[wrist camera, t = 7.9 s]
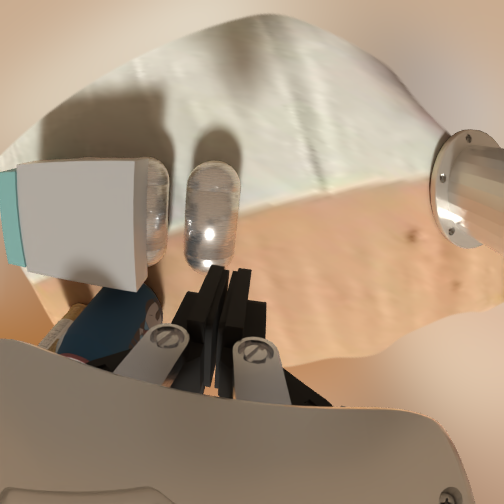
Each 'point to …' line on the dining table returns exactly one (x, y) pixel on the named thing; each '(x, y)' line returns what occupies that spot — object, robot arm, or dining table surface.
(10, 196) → the block
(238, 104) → the dining table surface
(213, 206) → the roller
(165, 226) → the roller mid
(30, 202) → the slab
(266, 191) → the dining table surface
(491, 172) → the robot arm
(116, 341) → the soda can
